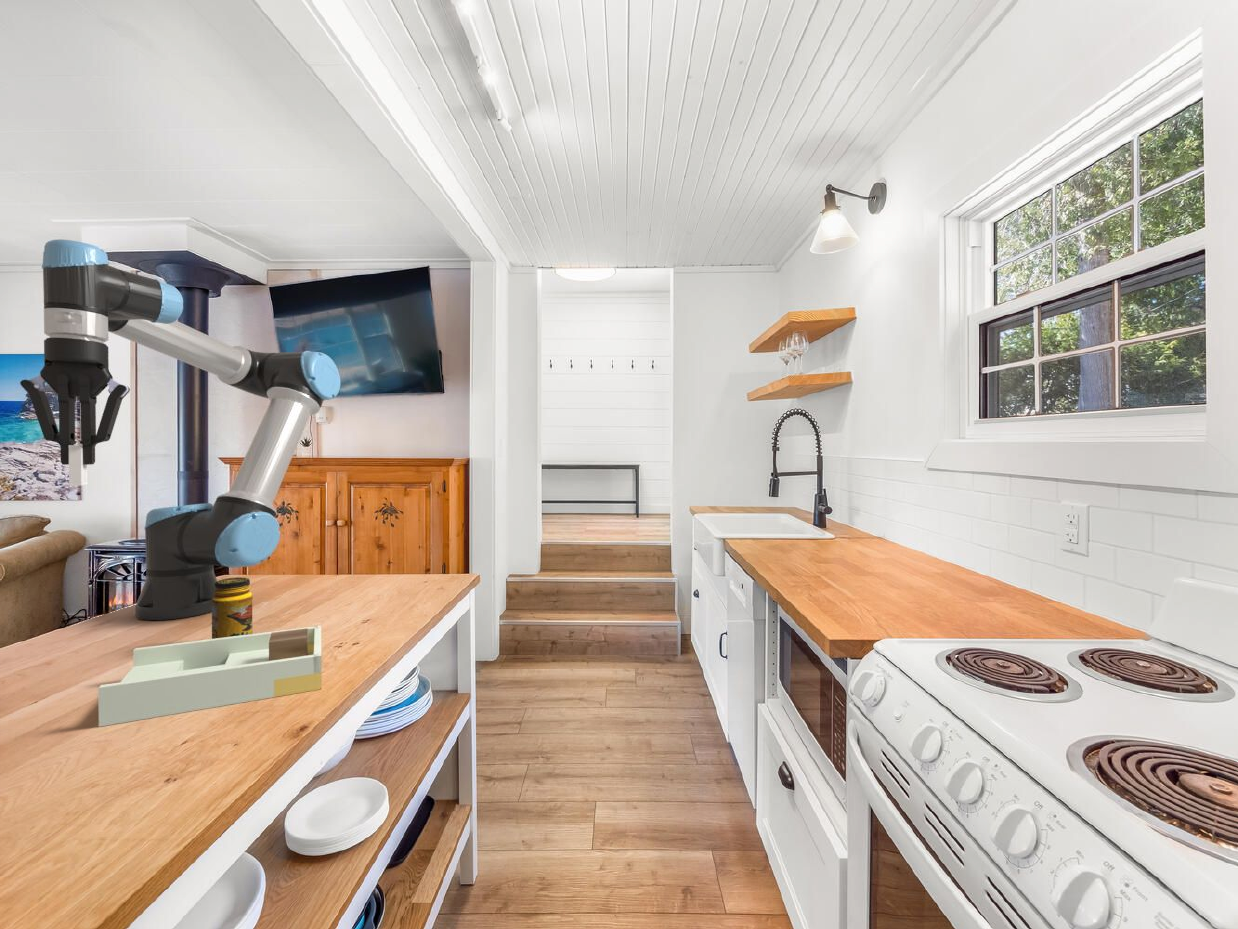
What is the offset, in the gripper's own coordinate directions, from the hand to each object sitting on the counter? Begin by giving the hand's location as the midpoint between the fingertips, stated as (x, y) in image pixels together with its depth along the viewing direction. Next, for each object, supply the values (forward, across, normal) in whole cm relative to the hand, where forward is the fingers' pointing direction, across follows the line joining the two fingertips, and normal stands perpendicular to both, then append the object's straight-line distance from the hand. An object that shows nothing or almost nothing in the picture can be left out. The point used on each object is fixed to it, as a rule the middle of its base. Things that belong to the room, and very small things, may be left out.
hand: (78, 484), depth 91 cm
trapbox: (+29, +22, -21) cm, 43 cm away
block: (+27, +30, -21) cm, 46 cm away
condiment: (+30, +20, -1) cm, 36 cm away
